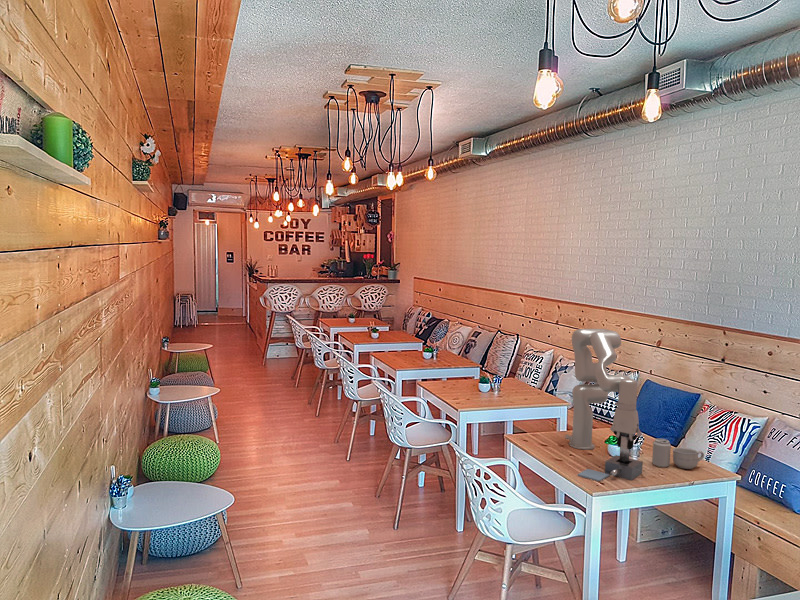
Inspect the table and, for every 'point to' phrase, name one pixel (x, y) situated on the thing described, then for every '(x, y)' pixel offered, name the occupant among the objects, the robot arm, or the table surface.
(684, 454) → the teacup
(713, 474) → the table surface
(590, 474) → the mat
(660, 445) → the can
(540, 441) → the table surface
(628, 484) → the table surface
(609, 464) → the block
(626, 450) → the grey tall cylinder
